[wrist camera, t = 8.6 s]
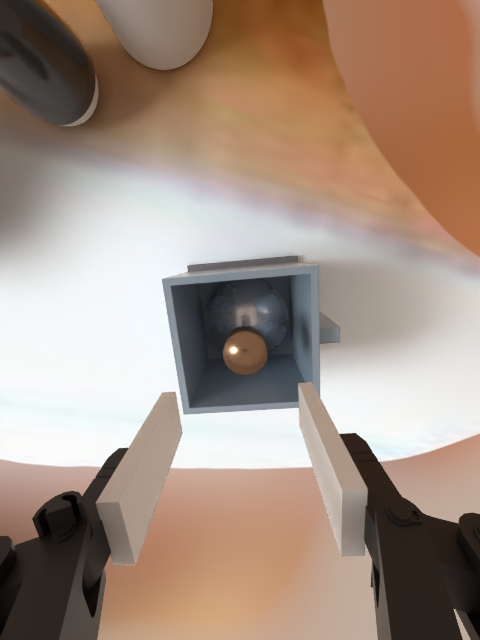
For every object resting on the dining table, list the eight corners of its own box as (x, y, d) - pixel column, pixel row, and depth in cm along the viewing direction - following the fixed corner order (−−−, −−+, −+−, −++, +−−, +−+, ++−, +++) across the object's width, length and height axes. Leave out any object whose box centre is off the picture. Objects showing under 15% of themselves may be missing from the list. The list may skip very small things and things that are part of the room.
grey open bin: (201, 364, 41) (177, 421, 27) (188, 265, 38) (152, 270, 23) (309, 356, 41) (343, 411, 26) (307, 254, 37) (345, 253, 22)
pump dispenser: (122, 67, 32) (14, -94, 17) (99, 152, 34) (-13, 75, 20) (44, 28, 31) (-138, -177, 16) (26, 118, 34) (-147, 9, 19)
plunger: (210, 360, 37) (190, 414, 24) (200, 281, 34) (171, 296, 22) (289, 354, 37) (311, 407, 24) (285, 273, 34) (308, 284, 21)
